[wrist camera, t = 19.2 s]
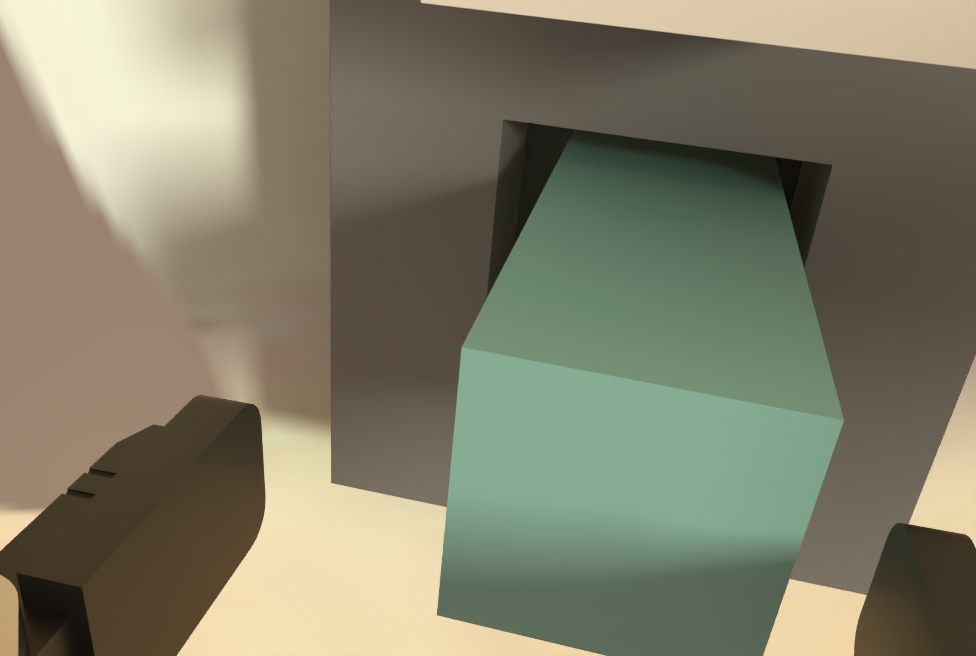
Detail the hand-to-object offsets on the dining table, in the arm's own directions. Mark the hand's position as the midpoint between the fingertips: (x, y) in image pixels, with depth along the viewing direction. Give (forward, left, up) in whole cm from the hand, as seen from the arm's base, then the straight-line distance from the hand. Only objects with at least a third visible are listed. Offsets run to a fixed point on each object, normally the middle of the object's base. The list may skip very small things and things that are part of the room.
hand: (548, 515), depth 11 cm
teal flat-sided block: (+1, -1, -9) cm, 9 cm away
